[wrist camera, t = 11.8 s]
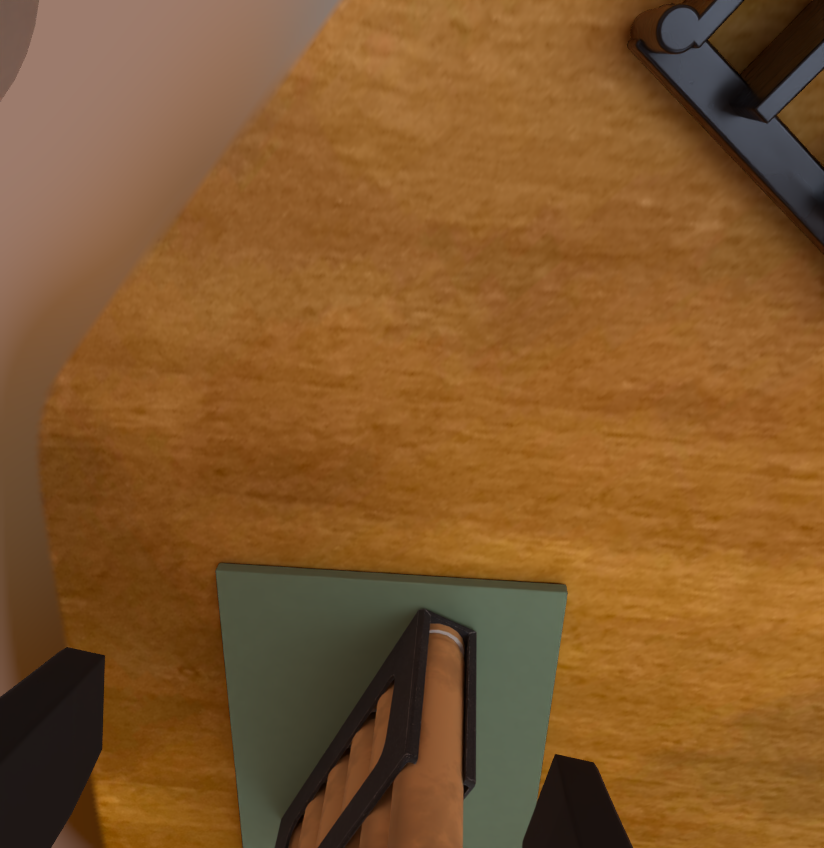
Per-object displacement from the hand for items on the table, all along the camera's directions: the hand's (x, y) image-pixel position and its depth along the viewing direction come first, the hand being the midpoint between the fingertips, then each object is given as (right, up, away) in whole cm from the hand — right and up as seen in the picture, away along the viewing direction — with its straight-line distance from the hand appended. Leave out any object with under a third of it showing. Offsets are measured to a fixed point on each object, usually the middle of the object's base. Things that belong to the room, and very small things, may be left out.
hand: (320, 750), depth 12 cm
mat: (+1, -5, +13) cm, 14 cm away
